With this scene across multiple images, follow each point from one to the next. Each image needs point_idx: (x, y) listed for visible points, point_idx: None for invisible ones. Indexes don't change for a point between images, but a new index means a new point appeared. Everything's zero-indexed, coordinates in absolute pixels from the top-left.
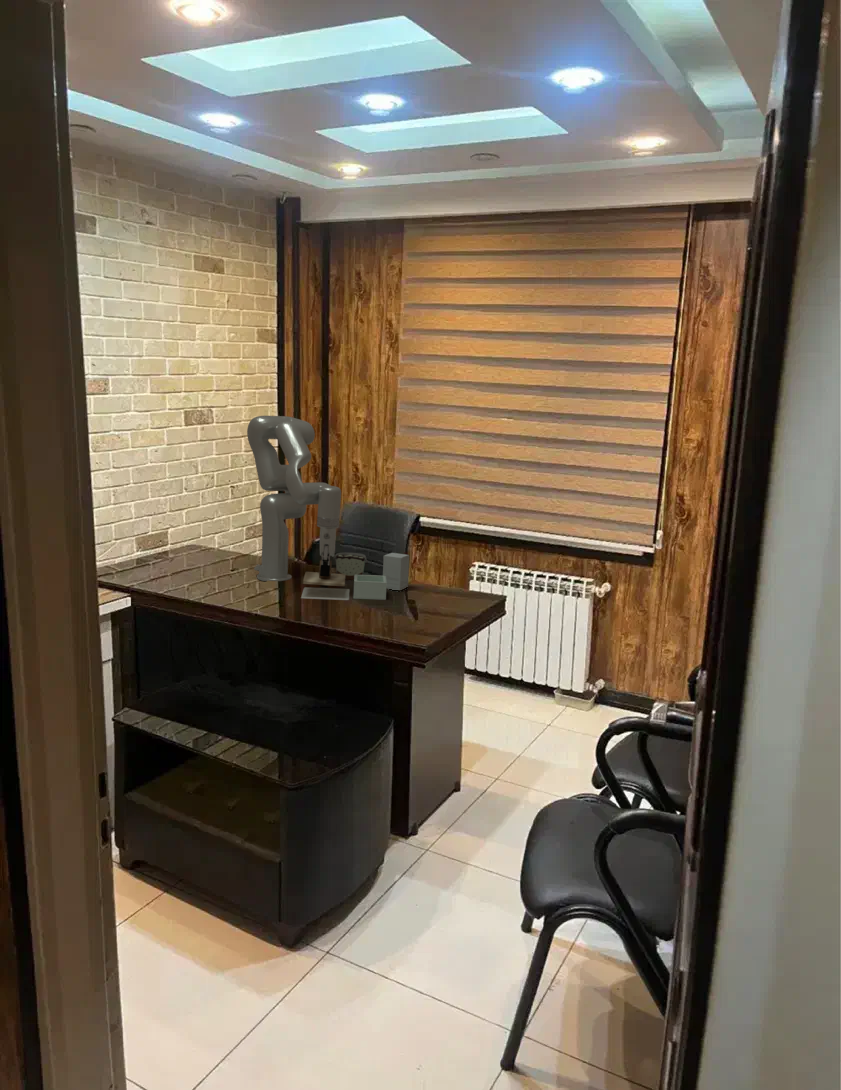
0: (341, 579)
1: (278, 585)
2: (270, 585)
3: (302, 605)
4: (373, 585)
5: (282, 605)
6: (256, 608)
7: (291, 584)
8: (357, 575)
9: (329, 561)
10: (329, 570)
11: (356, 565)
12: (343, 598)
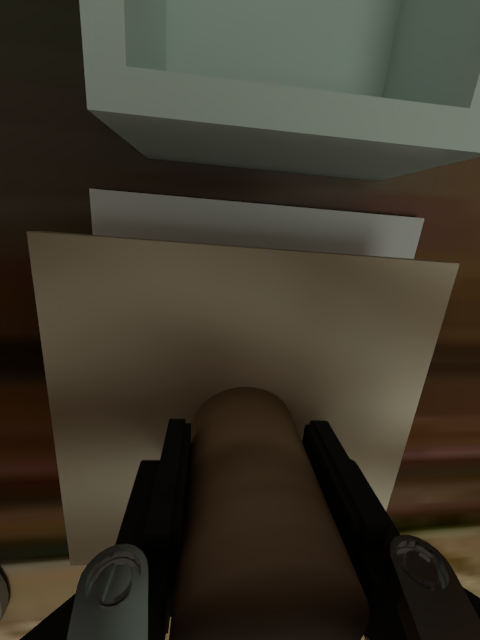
0: (288, 288)
1: (65, 559)
2: (76, 584)
3: (455, 453)
4: None
5: (441, 519)
6: (468, 584)
7: (22, 515)
8: (125, 63)
9: (478, 618)
10: (350, 465)
11: None
12: (380, 253)
